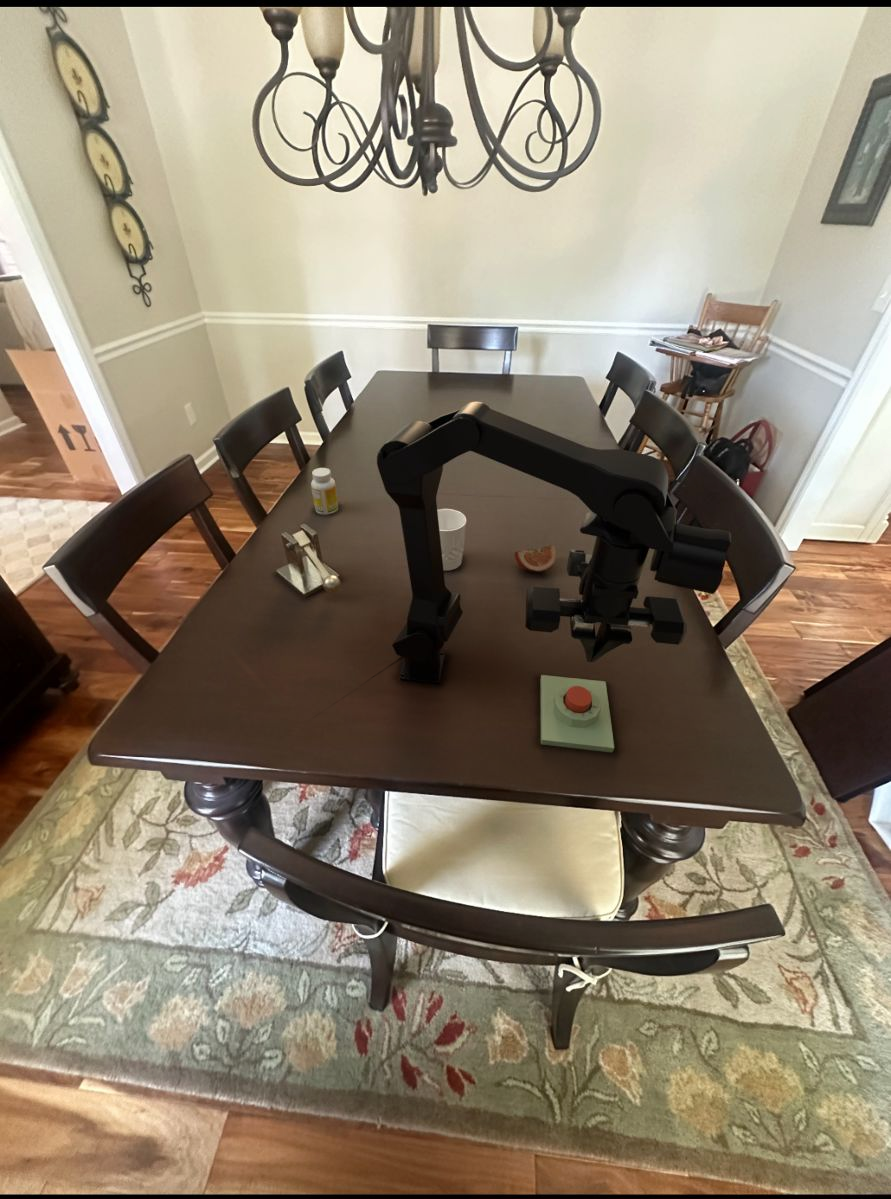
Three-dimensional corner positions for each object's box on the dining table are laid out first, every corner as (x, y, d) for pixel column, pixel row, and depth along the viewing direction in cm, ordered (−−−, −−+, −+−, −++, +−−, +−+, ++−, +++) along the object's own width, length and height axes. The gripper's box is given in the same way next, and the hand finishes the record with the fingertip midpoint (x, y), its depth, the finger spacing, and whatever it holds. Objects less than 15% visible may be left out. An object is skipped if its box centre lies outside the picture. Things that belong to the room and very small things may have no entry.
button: (590, 714, 74) (593, 707, 73) (565, 711, 74) (567, 704, 73) (588, 694, 77) (590, 687, 75) (564, 692, 77) (566, 684, 76)
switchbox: (612, 752, 72) (617, 740, 70) (540, 744, 73) (543, 732, 71) (604, 686, 81) (608, 673, 79) (540, 679, 82) (542, 667, 80)
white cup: (461, 575, 102) (462, 533, 95) (422, 570, 103) (421, 528, 96) (467, 552, 108) (469, 511, 101) (431, 547, 109) (430, 506, 102)
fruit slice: (546, 555, 107) (549, 535, 104) (560, 575, 102) (564, 554, 99) (508, 562, 105) (510, 542, 102) (521, 582, 100) (523, 561, 97)
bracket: (340, 579, 101) (333, 536, 94) (305, 598, 96) (295, 554, 90) (311, 557, 106) (302, 514, 99) (277, 574, 102) (265, 530, 95)
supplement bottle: (314, 516, 118) (307, 478, 112) (316, 504, 122) (309, 466, 116) (338, 515, 118) (332, 477, 112) (339, 503, 122) (334, 465, 116)
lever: (342, 590, 96) (345, 583, 94) (327, 598, 95) (330, 591, 92) (302, 536, 98) (305, 527, 95) (288, 543, 96) (290, 534, 94)
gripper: (684, 534, 64) (650, 625, 74) (533, 523, 66) (521, 613, 76) (706, 592, 56) (665, 685, 66) (533, 577, 57) (519, 669, 68)
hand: (589, 659), depth 69 cm, fingers closed
